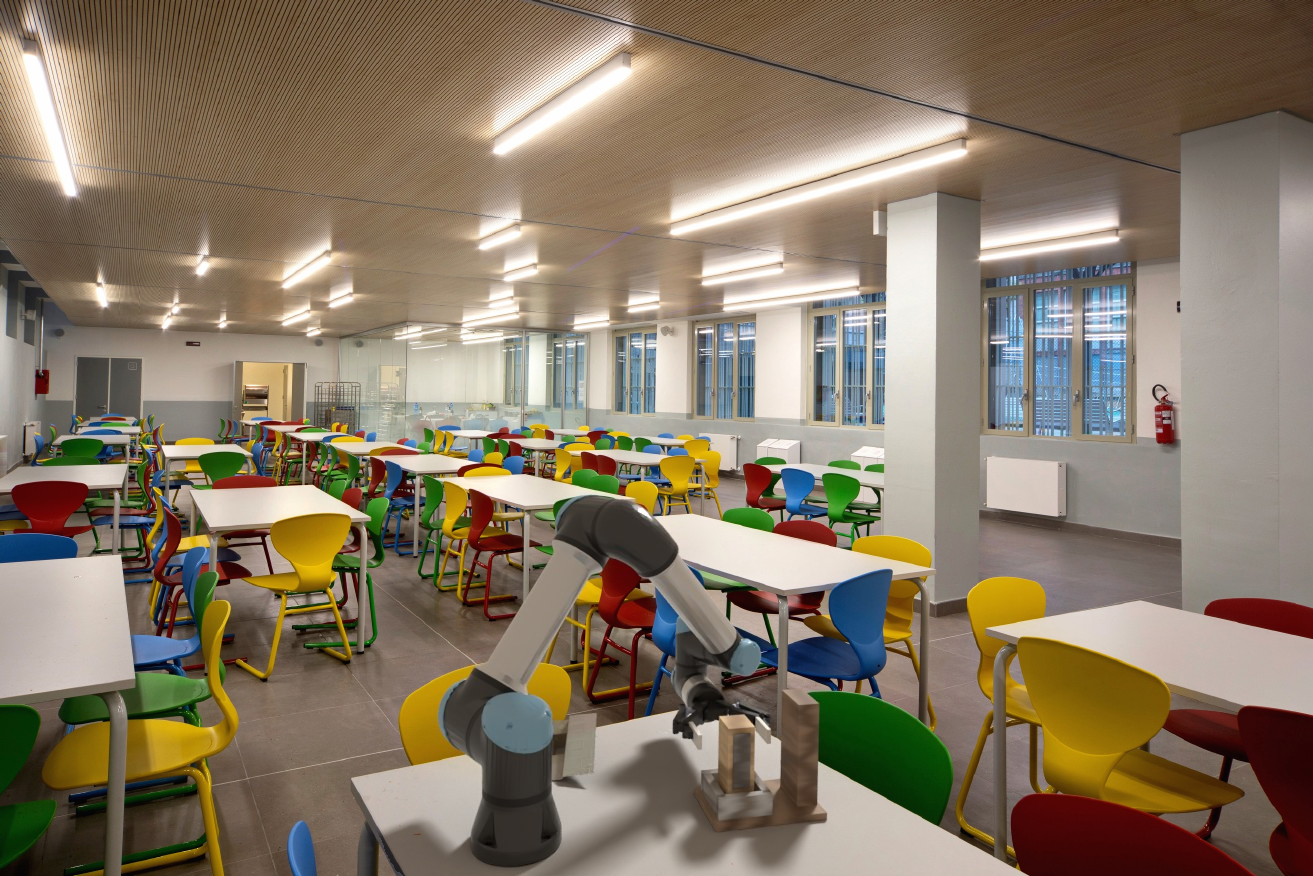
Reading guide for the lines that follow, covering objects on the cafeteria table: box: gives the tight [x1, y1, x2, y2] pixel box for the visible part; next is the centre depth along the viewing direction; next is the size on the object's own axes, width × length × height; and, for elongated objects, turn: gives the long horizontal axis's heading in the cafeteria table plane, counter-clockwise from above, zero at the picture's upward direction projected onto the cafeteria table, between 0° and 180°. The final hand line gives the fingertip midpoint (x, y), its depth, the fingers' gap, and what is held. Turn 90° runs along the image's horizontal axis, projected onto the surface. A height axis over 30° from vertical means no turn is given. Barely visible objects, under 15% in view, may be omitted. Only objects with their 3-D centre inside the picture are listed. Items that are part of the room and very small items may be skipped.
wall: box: [552, 712, 598, 781], centre depth 158 cm, size 16×9×15 cm
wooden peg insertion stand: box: [693, 688, 828, 833], centre depth 141 cm, size 21×14×20 cm, turn 103°
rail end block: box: [717, 715, 756, 794], centre depth 140 cm, size 5×6×15 cm
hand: (735, 739), depth 142 cm, fingers open, 13 cm apart
